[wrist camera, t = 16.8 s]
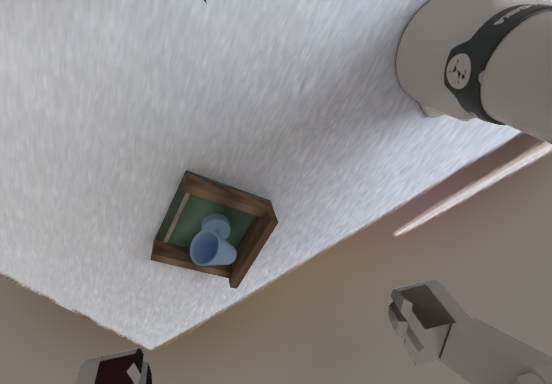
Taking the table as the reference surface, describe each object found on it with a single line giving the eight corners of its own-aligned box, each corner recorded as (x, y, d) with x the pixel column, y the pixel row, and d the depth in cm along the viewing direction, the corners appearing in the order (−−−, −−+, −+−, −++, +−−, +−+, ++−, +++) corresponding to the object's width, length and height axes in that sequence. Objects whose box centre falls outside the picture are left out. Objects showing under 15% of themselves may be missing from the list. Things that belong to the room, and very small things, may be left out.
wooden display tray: (153, 242, 52) (149, 269, 47) (186, 170, 47) (185, 191, 42) (233, 263, 58) (236, 288, 53) (270, 200, 53) (278, 222, 48)
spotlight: (186, 220, 51) (216, 243, 54) (184, 265, 42) (221, 289, 46) (209, 201, 50) (239, 226, 54) (213, 243, 42) (248, 269, 45)
